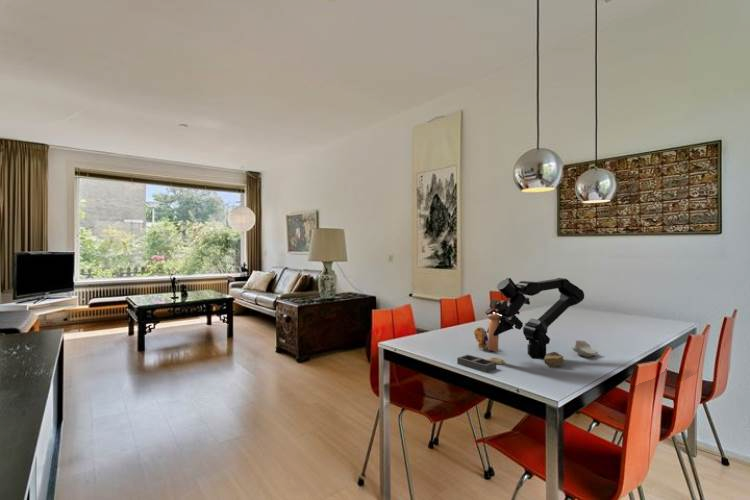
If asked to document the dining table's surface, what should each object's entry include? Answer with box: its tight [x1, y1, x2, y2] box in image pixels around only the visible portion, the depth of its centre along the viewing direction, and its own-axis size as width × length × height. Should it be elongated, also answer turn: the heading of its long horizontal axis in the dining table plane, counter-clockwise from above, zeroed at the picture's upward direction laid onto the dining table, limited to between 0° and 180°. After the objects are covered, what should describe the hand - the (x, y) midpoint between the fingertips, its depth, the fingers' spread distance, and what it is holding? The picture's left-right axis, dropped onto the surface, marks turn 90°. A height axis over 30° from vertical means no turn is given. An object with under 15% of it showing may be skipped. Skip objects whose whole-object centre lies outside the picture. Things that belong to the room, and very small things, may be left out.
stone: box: [543, 351, 564, 368], centre depth 147 cm, size 14×7×5 cm, turn 162°
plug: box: [487, 313, 500, 352], centre depth 149 cm, size 5×5×14 cm
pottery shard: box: [571, 339, 599, 358], centre depth 157 cm, size 10×11×5 cm
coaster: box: [484, 357, 505, 366], centre depth 150 cm, size 8×8×1 cm
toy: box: [473, 326, 493, 353], centre depth 168 cm, size 12×7×14 cm
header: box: [456, 354, 497, 373], centre depth 144 cm, size 7×13×2 cm, turn 39°
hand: (490, 334), depth 149 cm, fingers closed on plug, 4 cm apart
